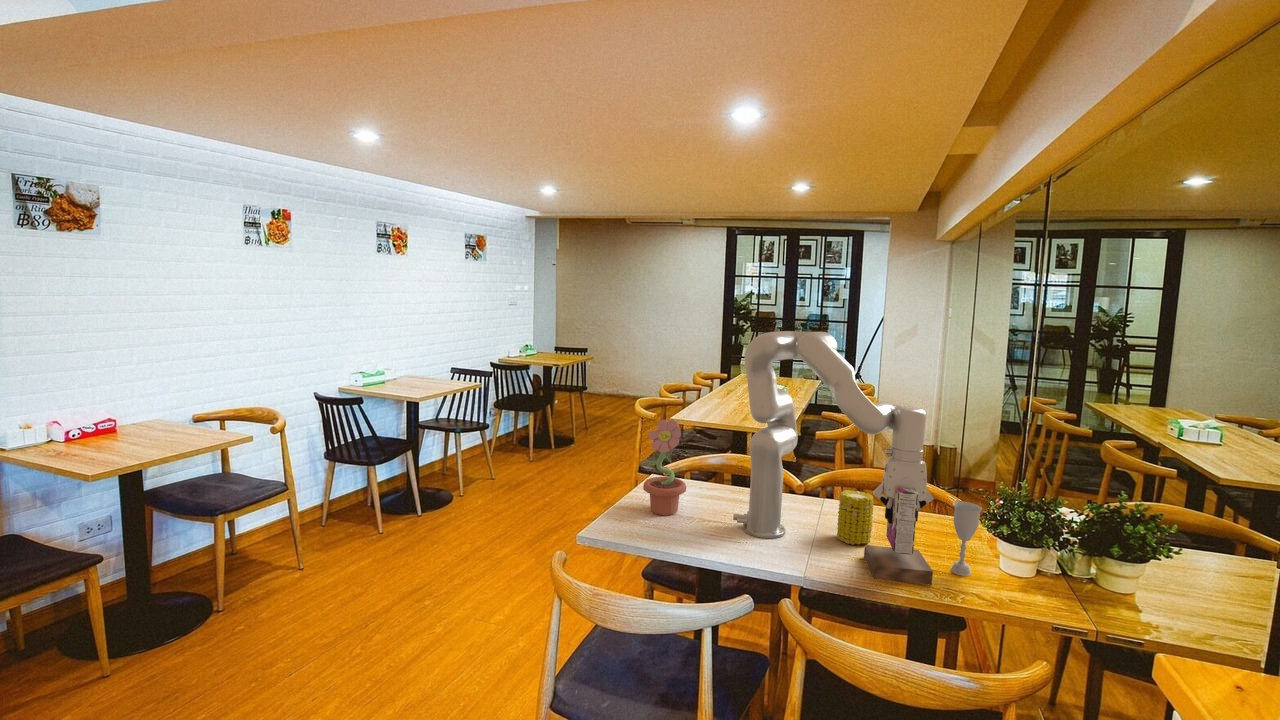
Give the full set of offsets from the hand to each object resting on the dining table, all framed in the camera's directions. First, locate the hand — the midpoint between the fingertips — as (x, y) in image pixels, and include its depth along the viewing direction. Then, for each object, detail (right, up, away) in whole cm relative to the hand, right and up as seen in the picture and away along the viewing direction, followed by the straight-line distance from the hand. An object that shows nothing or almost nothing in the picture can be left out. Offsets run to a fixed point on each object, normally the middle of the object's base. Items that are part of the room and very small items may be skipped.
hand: (900, 522), depth 163 cm
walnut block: (-1, -14, +2) cm, 14 cm away
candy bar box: (0, -7, +1) cm, 7 cm away
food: (-5, -11, +21) cm, 24 cm away
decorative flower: (-61, -7, +39) cm, 72 cm away
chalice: (+17, -14, +2) cm, 22 cm away
